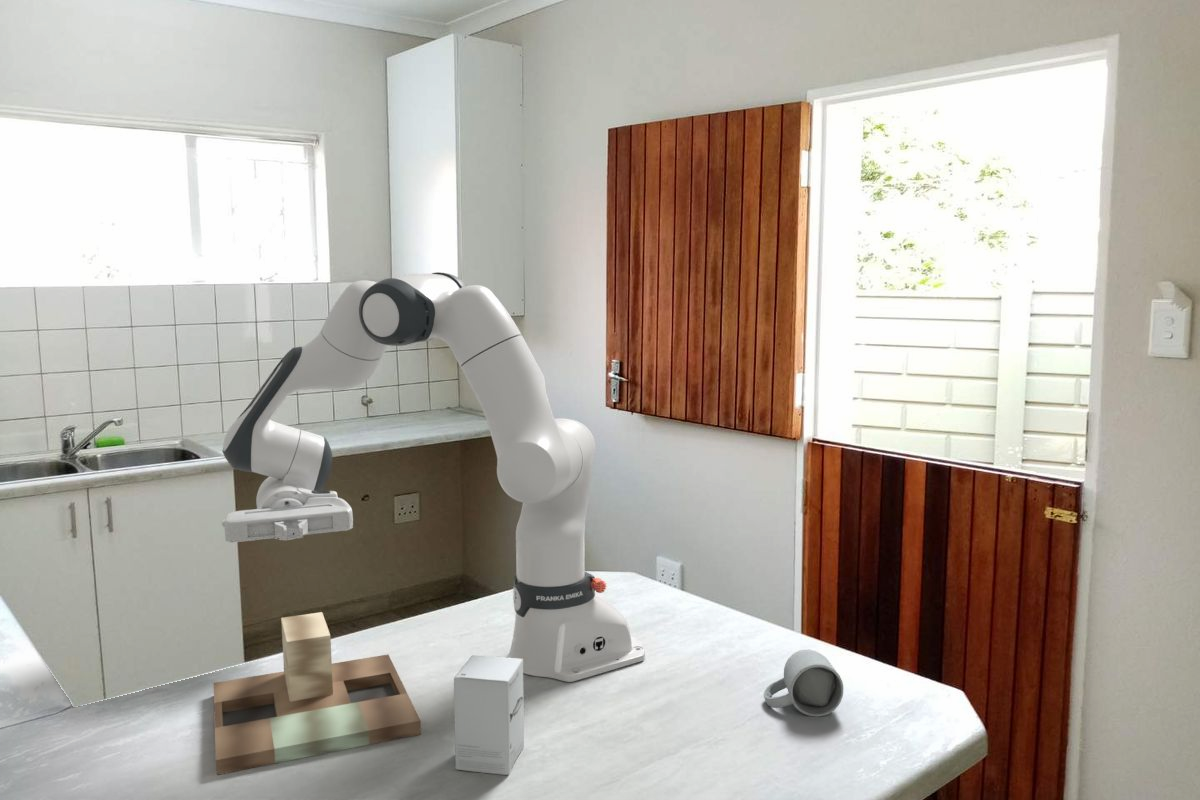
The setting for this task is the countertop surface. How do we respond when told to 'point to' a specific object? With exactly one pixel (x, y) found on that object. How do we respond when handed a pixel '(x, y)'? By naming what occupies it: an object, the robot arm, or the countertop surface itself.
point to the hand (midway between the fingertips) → (293, 533)
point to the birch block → (307, 656)
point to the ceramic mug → (807, 685)
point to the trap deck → (310, 715)
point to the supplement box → (489, 714)
